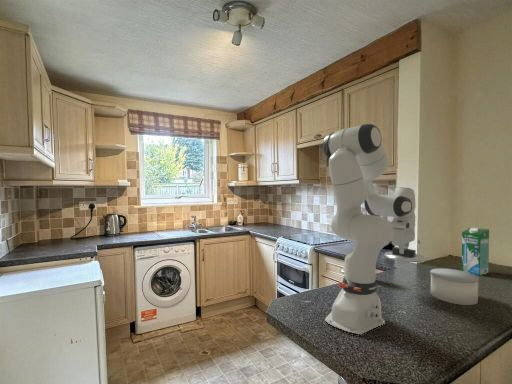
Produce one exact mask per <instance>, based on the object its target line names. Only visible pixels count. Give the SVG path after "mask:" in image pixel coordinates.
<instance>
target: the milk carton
mask: <svg viewBox="0 0 512 384" xmlns="http://www.w3.org/2000/svg"><path fill="white" fill-rule="evenodd" d="M489 252H490V229H489V228H488V229H487V228H481V227H469V228H467V229H466V230H464V231H462V232H461V271H464V272H468V273H472V274H474V275H475V274H476V276H479V275H480V276H483V274H484V275H488V274H489V263H490V261H489V260H490V259H489V257H490V256H489V255H490V253H489ZM487 273H488V274H487Z"/></svg>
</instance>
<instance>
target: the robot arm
mask: <svg viewBox="0 0 512 384" xmlns="http://www.w3.org/2000/svg"><path fill="white" fill-rule="evenodd" d="M382 140H383V139H382V134H381V130H380V129H379V128H378V126H376V125H375V124H373V123H364V124H363V123H362V124H361V125H356V126H351V127H347V128H346V127H345V128H342V129H340V130H337V131H333V132H330V133H329V134H327V135H326V136H325V137H324V138H323V142H322V150H323V154H324V155H325V156H326V158H327V159H328V169H329V176H330V181H331V186H332V189H333V191H334V192H333V193H334V197H335V201H336V212H335V215H333V218H332V220H331V222H330V223H331V224H330V229H331V230H332V233H333V234H334V235H336V236H338V237H339V238H340V239H343V240H345V241H350V242H354V247H353V250H352V252H349V253H348V254H346V255H345V257H344V276H343V279H342V281H339V282H338V287H339V288H341V289H340V291H339V293H338V295H337V296H336V298H335V300H334V302H333V304H332V305H331V306H332V307H331V311H330V313H329V314H328V315H327V316H326V317H325V318H324V322H325V321H326V322H327V323H328V324H330V325H332V326H334V327H337V328H339V329H342V330H344V331H348V332H352V333H356V334H362V333H364V332H367V331H369V330H371V329H373V328H376V327H378V326H380V327H382V326H384V325H386V320H385V319H384V318H383V317H382V304H381V299H380V297H379V295H378V293H377V288H378V283H377V280H376V277H377V276H376V272H377V271H376V270H377V261H378V260H377V259H378V257H379V254H380V252H381V251H382V249H383V248H384V247H386V246H388V245H389V244H390V243H391V245H392V246H395V247H399V250H400V254H404V253H405V250H404V248H405V249H409V248H410V247H409V246H410V243H411V242H413V241H415V239H416V233H415V232H416V215H415V210H416V206H417V205H416V194H415V190H414V189H412V188H410V187H403V186H402V187H397V188H395V190H394V193H392V194H379V193H377V192H376V190H375V188H374V184H373V180H375V179H377V178H380V177H381V176H382V175H384V174H385V173H386V171H387V170H388V168H389V158H388V155H387V153H386V151H385V149H384V147H383V146H382ZM363 204H364V208H365V211H366V213H368V214H365V213H363V212H362V210H361V209H362V207H361V206H362V205H363ZM384 217H388V218H389V217H392V218H393V219H392V221H390V220H388V219H386V218H384ZM326 322H325V323H326ZM327 323H326V324H327ZM328 324H327V325H328ZM383 324H384V325H383ZM330 325H329V326H330ZM381 325H382V326H381ZM332 326H331V327H332ZM378 328H379V327H378ZM376 329H377V328H376Z"/></svg>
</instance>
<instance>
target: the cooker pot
mask: <svg viewBox="0 0 512 384" xmlns="http://www.w3.org/2000/svg"><path fill="white" fill-rule="evenodd" d="M429 274H430V294H431V295H432V297H434V298H436V299H438V300H441V301H443V302H446V303H450V304H453V305H454V304H455V305H461V306H473V305H474V306H475V305H477V304H478V302H479V281H480V277H479V276H478V275H475V274H471V273H468V272H464V271H462V270H458V269H454V268H453V269H452V268H441V267H440V268H432V269H431V270H430V271H429Z"/></svg>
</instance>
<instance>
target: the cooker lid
mask: <svg viewBox="0 0 512 384" xmlns="http://www.w3.org/2000/svg"><path fill="white" fill-rule="evenodd" d="M391 249H392V251H385V252H384V257H385V258H387V259H389V260H392V261H396V262H404V263H421V262H424V261H425V257H424V256H423V255H422V254H419V253H416V249H411V248H408V249H405V248H404V250H405V253H404V254H400V250H399V247H398V246H393V247H392V248H391Z"/></svg>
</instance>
